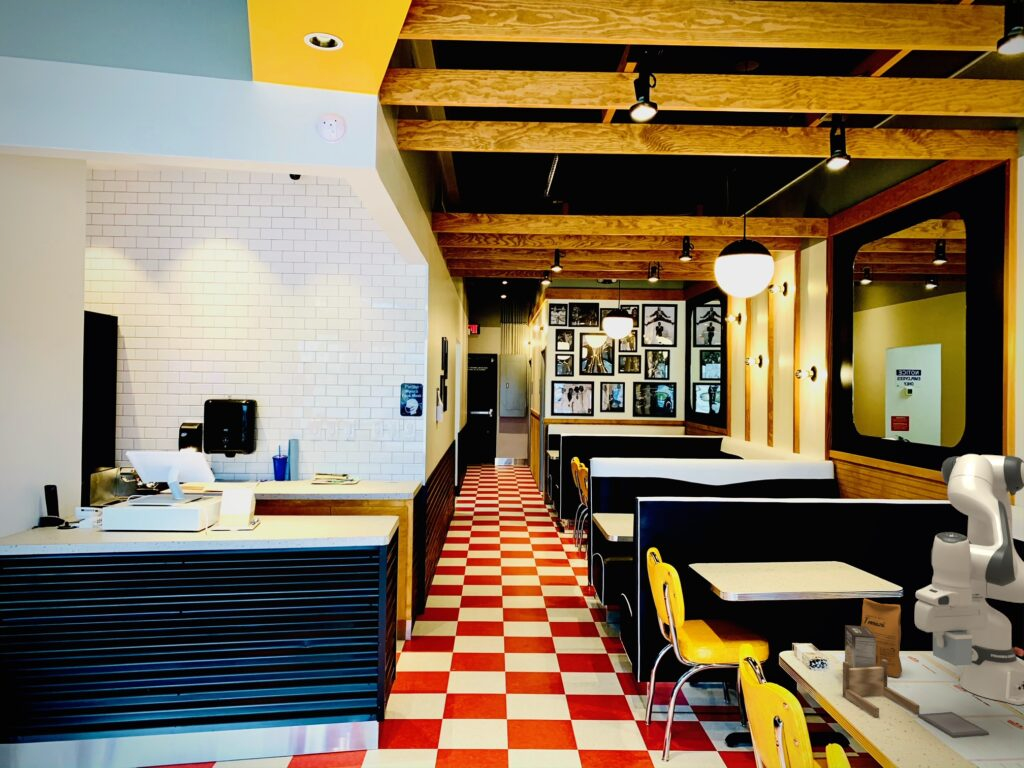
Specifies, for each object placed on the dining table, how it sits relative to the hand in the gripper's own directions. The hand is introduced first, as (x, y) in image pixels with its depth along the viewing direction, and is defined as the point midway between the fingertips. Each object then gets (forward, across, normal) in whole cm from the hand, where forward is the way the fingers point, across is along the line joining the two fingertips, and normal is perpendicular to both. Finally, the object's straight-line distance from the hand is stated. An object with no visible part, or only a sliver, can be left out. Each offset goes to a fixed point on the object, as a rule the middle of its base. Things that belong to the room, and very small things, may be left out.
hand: (951, 646), depth 166 cm
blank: (+4, 0, 0) cm, 4 cm away
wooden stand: (+21, +11, -12) cm, 27 cm away
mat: (+21, 0, 0) cm, 21 cm away
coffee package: (+21, -8, -34) cm, 41 cm away
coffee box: (+21, +6, -26) cm, 34 cm away
